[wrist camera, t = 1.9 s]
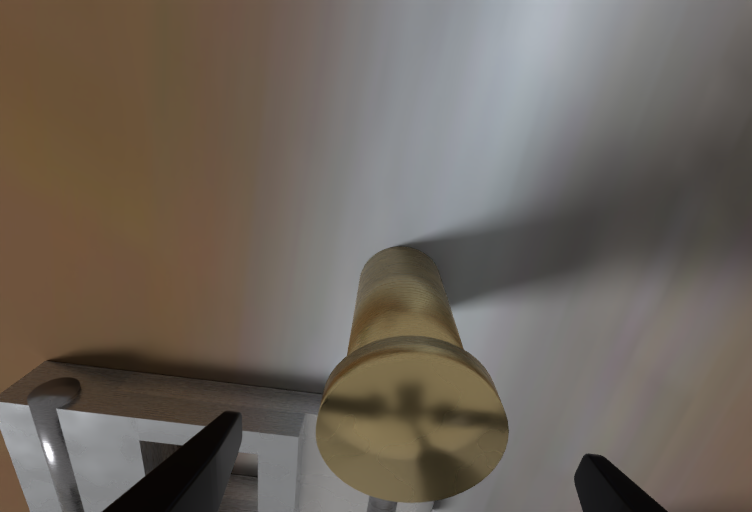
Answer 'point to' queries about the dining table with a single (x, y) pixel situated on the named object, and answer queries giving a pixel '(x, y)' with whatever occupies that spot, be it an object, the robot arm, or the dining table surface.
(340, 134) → the dining table surface
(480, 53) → the dining table surface
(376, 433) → the brass knob
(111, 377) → the silver plate
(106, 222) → the dining table surface
